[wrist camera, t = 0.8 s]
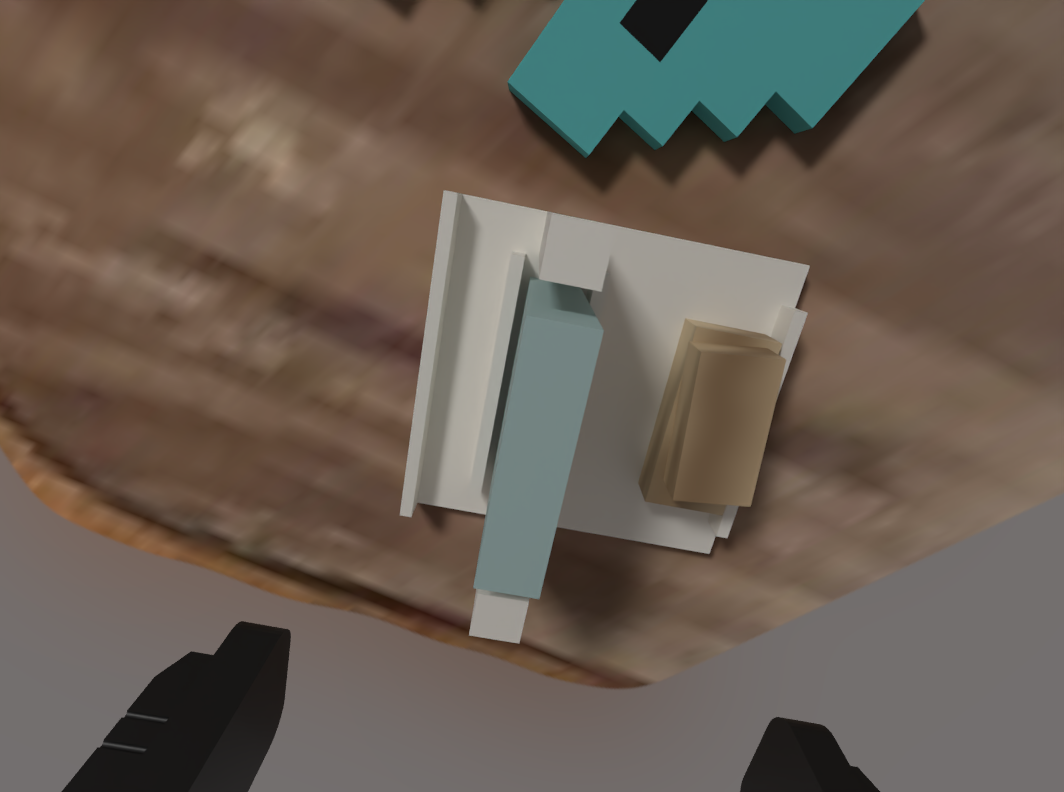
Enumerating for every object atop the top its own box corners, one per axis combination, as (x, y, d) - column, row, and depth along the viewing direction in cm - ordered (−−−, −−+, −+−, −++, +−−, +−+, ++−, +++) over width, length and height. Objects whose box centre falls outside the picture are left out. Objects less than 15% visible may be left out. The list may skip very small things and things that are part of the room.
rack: (800, 263, 27) (943, 293, 17) (704, 543, 32) (775, 685, 22) (452, 191, 26) (403, 182, 16) (410, 491, 31) (354, 616, 22)
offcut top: (767, 348, 25) (786, 359, 23) (735, 486, 27) (750, 506, 25) (688, 341, 25) (701, 352, 23) (663, 480, 27) (672, 500, 25)
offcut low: (765, 333, 27) (782, 343, 25) (710, 495, 30) (722, 515, 28) (685, 318, 27) (696, 326, 25) (638, 482, 30) (644, 501, 28)
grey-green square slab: (579, 286, 26) (604, 330, 17) (538, 473, 29) (539, 599, 20) (530, 276, 26) (526, 315, 17) (493, 465, 29) (473, 587, 20)
